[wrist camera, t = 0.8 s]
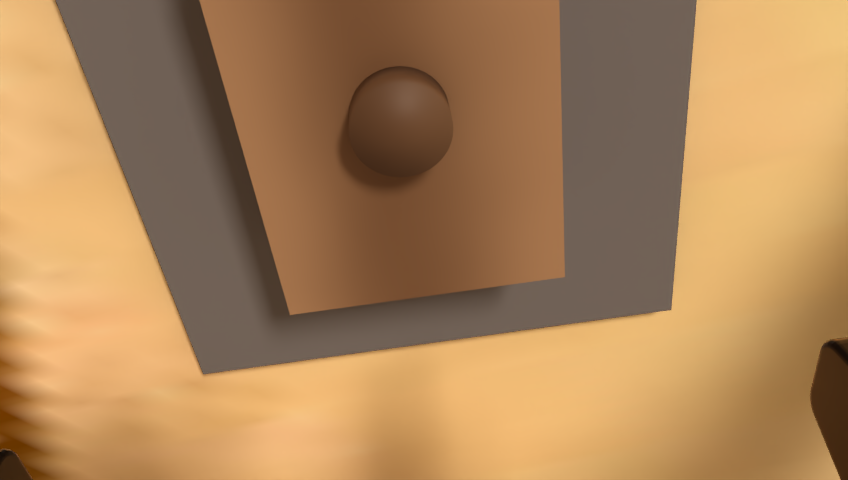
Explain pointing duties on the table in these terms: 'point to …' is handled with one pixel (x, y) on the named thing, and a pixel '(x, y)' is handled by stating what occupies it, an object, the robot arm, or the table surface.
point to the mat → (416, 317)
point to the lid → (398, 142)
